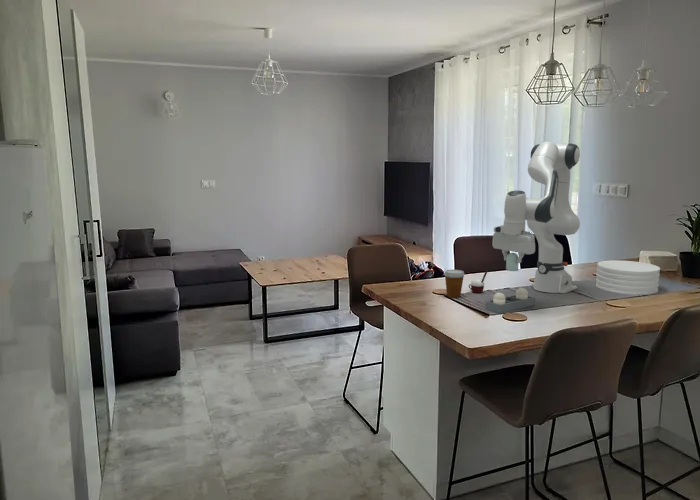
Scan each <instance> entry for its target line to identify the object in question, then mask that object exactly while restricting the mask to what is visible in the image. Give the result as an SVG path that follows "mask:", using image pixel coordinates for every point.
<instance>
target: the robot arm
mask: <svg viewBox="0 0 700 500" xmlns="http://www.w3.org/2000/svg"><path fill="white" fill-rule="evenodd" d="M580 150H581V149H580V147H579V146H578V145H577V144H575V143H566V142H553V141H548V140H547V141H544V142H543V141H542V142H541V143H539V144H535V145H534V146H533V147H532V148H531V150H530V160H529V162H528V165H527V172H528V175H529V177H530V178H531V179H532V180H533V181H535V182H537V183H539V184H543V185H544V190H543V191H544V192H543V197H540V198H535V197H532V198H531V197H530V198H529V197H527V195H526V192H525V191H523V190H511V191H508V192H507V193H506V196H505V201H504V208H503V209H504V210H503V214H504V219H503V224H501V225H498V226H494V227H493V232H494V233H493V235H492V247H493V249H496V250H501V254H502V255H503V260H504V261H506V259H507V255H508V254H509V253H508V252H511V253H517V255H518V259H516V263H518V264H521V263H522V259H523V258H524V256H525V255H533V254H535V252H536V242H535V241H536V240H537V243H538V260H537V264H536V265H537V266H536V268H537V270H536V271H535V275H534V281H533V283H532V284H531V286H532V287H533V290H535V291H538V292H543V293H549V294H551V293H553V294H558V293H559V294H567V293H569V292H572V291H574V290H577V289H578V286H577V285H575V284H573V277H572V275H571V274H569V272H568V271H566V269H565V267H568V264H569V263H568V262H567V261H563V256H564V255H563V254H564V247H563V245H562V244H561V243H560V242H559V241H558V240H557V239H556V237H555V235H558V236H560V235H561V236H570V235H575V234H576V233H577V232H578V231H579V229H580V226H581V221H580V218H579V216H578V215H577V214H576V213H574V211H573V210H572V207H571V204H570V201H569V199H570V196H569V193H570V183H571V169H572V168H573V167H575V166H576V165H577V164H578V162H579V160H580V156H581V151H580ZM526 224H527V227H528V228H529V230H530V231H528V230H526ZM535 238H536V240H535Z"/></svg>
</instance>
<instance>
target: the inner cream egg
mask: <svg viewBox="0 0 700 500" xmlns="http://www.w3.org/2000/svg"><path fill="white" fill-rule="evenodd" d="M515 295H516V298H519V299H522V300H523V299H528V296H529V292H528V290H527V289H526V288H525V287H519V288H518V289H517V290H516V292H515Z"/></svg>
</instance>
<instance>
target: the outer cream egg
mask: <svg viewBox="0 0 700 500" xmlns="http://www.w3.org/2000/svg"><path fill="white" fill-rule="evenodd" d="M505 297H506V295H505V294H504V293H502V292H495V293H494V294H493V297H492V298H493V299H492V300H493V303H496V304H499V305H501V304H505Z"/></svg>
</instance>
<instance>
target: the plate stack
mask: <svg viewBox="0 0 700 500" xmlns="http://www.w3.org/2000/svg"><path fill="white" fill-rule="evenodd" d="M596 266H597V267H596V278H595V281H596V282H595V286H596V288H598V289H600V290H602V291H607V292H611V293H616V294H622V295H623V294H624V295H634V296H637V295H641V296H642V295H644V294H647V295H653V294H657V293H658V292H659V284H660V283H659V281H660V272H661V267H659V266H658V265H655V264H651V263H648V262H642V261H641V262H640V261H631V260H620V259H619V260H615V259H614V260H612V259H611V260H603V261H599V262H597V265H596Z"/></svg>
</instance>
